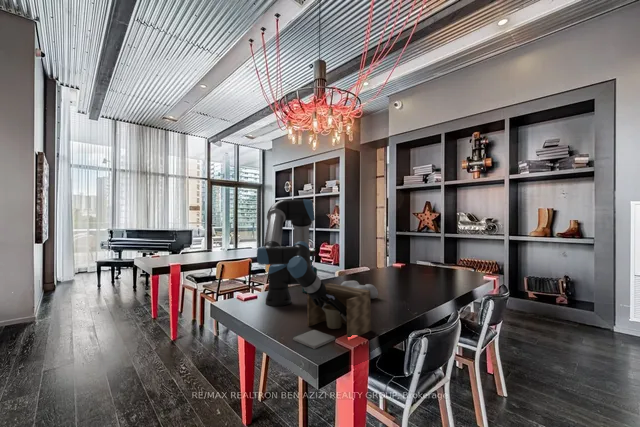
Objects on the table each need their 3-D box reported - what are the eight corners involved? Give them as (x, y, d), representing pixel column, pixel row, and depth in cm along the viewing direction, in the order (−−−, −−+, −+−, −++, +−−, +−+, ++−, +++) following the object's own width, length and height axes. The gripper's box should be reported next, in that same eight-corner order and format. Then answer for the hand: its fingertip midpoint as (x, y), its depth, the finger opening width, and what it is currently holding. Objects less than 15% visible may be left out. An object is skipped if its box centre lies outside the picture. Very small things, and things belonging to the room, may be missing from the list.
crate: (349, 340, 114) (348, 297, 115) (307, 325, 131) (307, 288, 131) (370, 330, 125) (370, 290, 125) (329, 317, 142) (329, 283, 142)
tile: (314, 348, 106) (314, 346, 106) (293, 340, 115) (293, 337, 115) (335, 339, 115) (335, 336, 115) (314, 331, 123) (314, 329, 123)
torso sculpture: (380, 302, 177) (352, 288, 203) (381, 285, 176) (353, 273, 203) (359, 306, 169) (333, 290, 196) (360, 288, 169) (334, 275, 195)
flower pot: (345, 323, 130) (344, 304, 130) (344, 331, 120) (344, 310, 121) (324, 322, 131) (324, 303, 131) (322, 330, 121) (322, 309, 122)
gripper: (291, 289, 123) (317, 318, 134) (329, 298, 107) (355, 329, 118) (300, 275, 127) (324, 304, 138) (338, 282, 111) (362, 314, 122)
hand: (338, 316), depth 128 cm, fingers closed on flower pot, 9 cm apart
